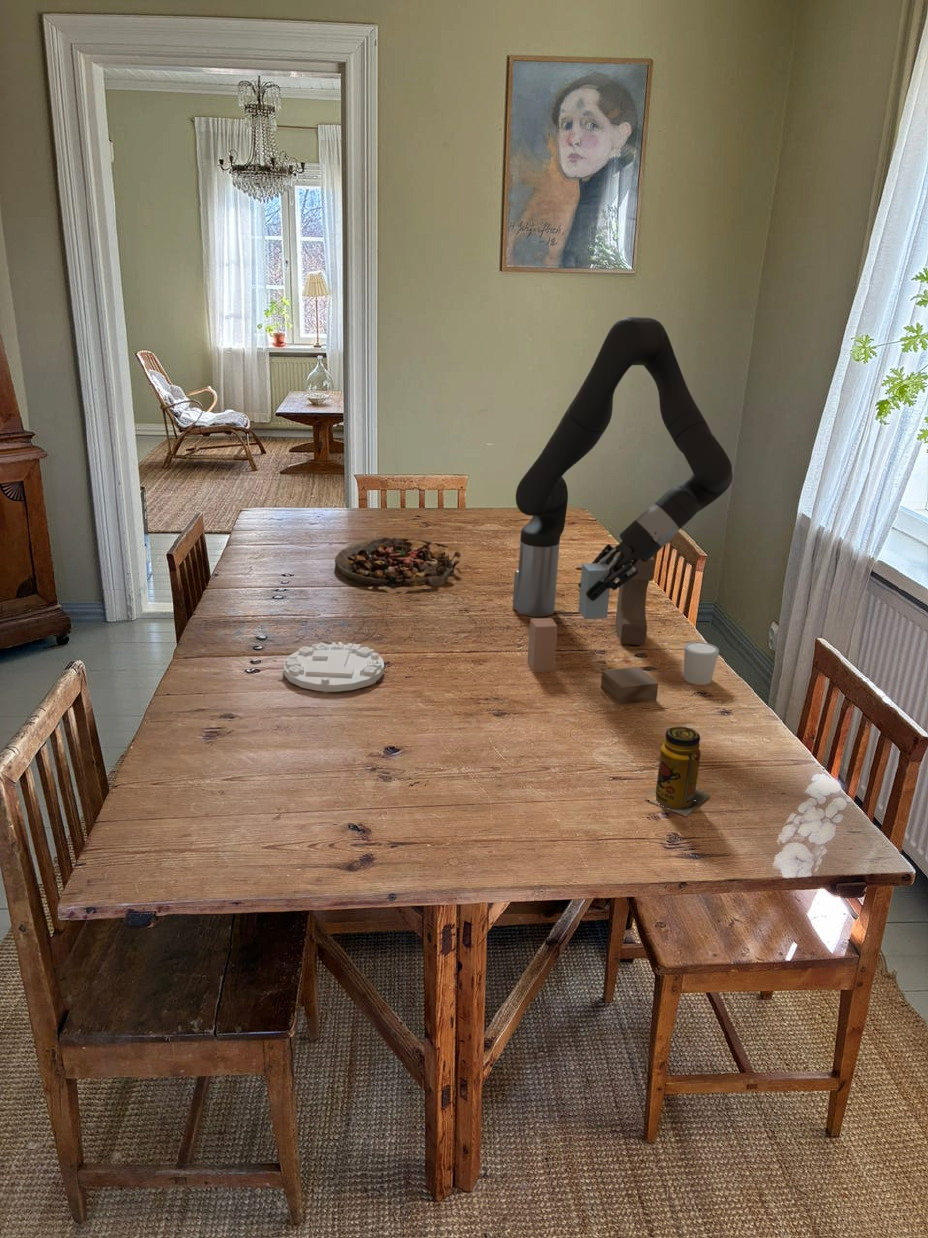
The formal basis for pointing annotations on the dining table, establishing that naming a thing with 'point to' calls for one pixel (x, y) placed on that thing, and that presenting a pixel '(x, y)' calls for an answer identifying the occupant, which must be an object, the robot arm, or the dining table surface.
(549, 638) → the terracotta pillar
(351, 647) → the embossed medallion
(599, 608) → the blue pillar
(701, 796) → the condiment
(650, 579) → the decorative block
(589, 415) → the robot arm
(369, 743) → the dining table surface
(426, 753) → the dining table surface
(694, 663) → the white short cylinder
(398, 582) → the food dish
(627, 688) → the walnut plinth
